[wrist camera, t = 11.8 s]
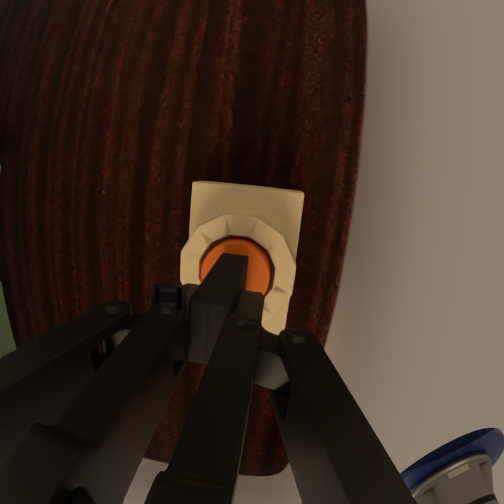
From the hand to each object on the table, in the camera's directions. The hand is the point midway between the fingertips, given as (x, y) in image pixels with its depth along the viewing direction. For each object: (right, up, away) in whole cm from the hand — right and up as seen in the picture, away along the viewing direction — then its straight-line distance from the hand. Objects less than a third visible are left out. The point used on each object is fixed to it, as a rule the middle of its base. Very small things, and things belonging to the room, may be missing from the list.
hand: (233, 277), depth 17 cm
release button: (0, 0, +2) cm, 2 cm away
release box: (0, +1, +5) cm, 5 cm away
